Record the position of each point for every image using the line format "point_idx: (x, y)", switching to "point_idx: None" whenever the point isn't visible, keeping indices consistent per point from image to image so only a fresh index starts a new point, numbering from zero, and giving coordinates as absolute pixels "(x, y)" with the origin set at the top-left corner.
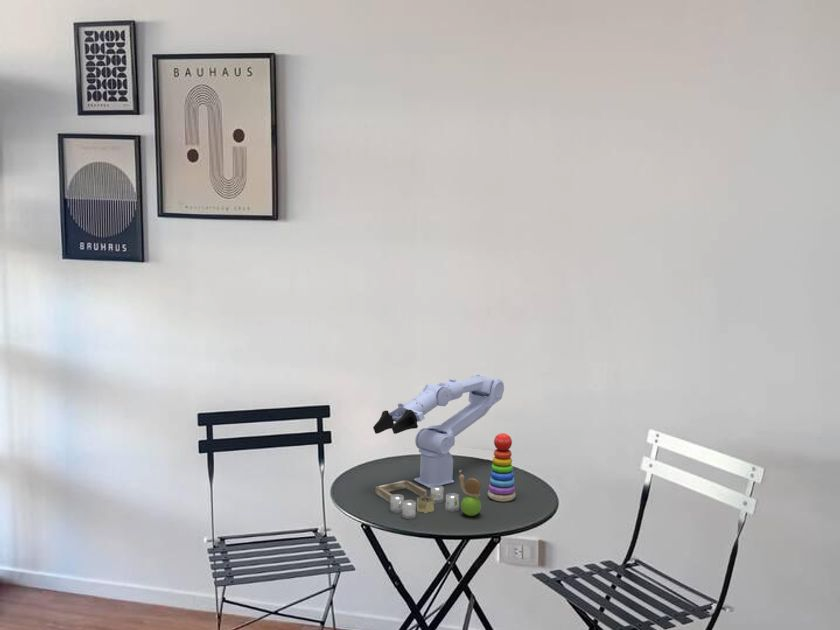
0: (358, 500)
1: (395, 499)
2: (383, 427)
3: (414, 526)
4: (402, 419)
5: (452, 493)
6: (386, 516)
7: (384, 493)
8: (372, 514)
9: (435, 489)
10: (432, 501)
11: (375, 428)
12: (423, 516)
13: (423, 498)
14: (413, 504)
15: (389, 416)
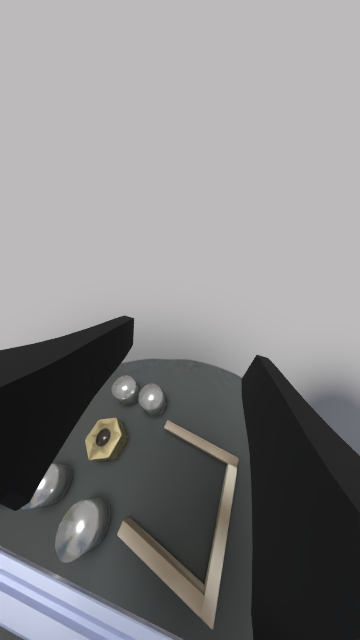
0: (231, 402)
1: (148, 384)
2: (258, 434)
3: (115, 371)
4: (55, 338)
5: (33, 500)
6: (159, 376)
7: (200, 438)
8: (179, 370)
9: (80, 501)
10: (88, 435)
11: (253, 363)
12: (109, 409)
13: (108, 438)
14: (114, 382)
15: (345, 608)
